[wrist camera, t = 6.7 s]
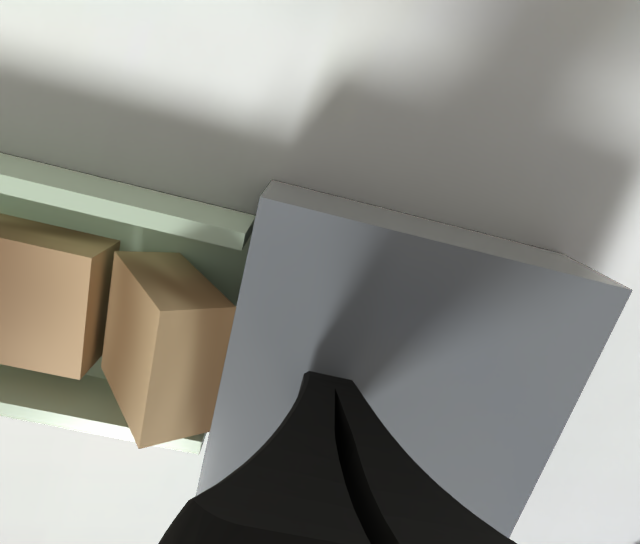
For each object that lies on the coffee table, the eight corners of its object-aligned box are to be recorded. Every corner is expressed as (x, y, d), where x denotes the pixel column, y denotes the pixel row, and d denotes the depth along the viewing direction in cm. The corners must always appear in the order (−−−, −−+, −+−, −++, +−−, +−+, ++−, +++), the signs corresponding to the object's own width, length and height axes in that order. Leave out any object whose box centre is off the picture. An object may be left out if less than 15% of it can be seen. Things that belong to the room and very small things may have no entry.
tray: (256, 215, 15) (245, 233, 12) (214, 408, 17) (198, 454, 15) (-50, 140, 14) (-126, 144, 11) (-51, 353, 16) (-114, 393, 14)
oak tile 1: (236, 307, 12) (160, 311, 11) (209, 431, 13) (138, 448, 12) (179, 252, 15) (114, 251, 13) (162, 359, 16) (100, 367, 15)
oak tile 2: (-58, 224, 12) (-9, 211, 14) (-57, 352, 14) (-12, 324, 15) (91, 258, 13) (120, 240, 15) (80, 379, 14) (107, 349, 16)
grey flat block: (562, 253, 15) (632, 290, 12) (461, 485, 18) (494, 566, 15) (271, 179, 14) (259, 196, 11) (215, 436, 17) (192, 511, 14)
